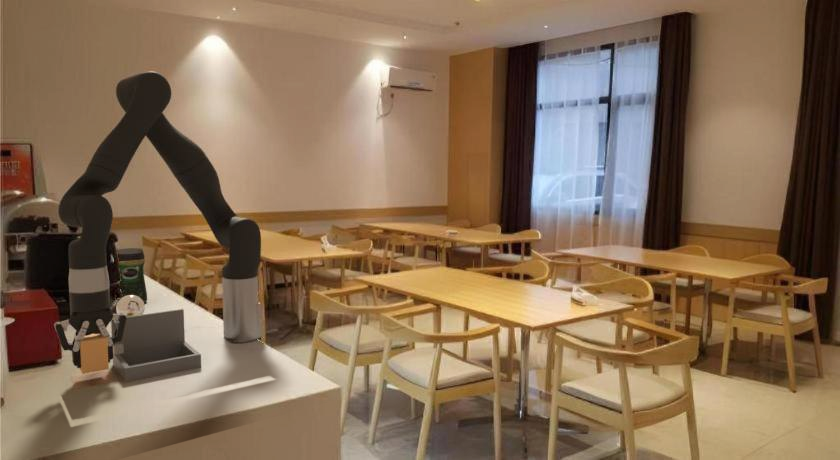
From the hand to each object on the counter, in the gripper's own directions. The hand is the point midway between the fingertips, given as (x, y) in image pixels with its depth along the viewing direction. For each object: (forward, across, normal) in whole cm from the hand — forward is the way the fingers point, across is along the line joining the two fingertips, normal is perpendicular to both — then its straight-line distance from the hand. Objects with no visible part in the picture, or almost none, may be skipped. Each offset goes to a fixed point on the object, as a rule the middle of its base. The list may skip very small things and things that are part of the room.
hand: (93, 364), depth 129 cm
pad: (+4, 0, 0) cm, 4 cm away
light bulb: (+4, -14, -30) cm, 33 cm away
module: (+1, 0, 0) cm, 1 cm away
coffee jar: (+4, -23, -72) cm, 76 cm away
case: (+4, -13, 0) cm, 14 cm away
